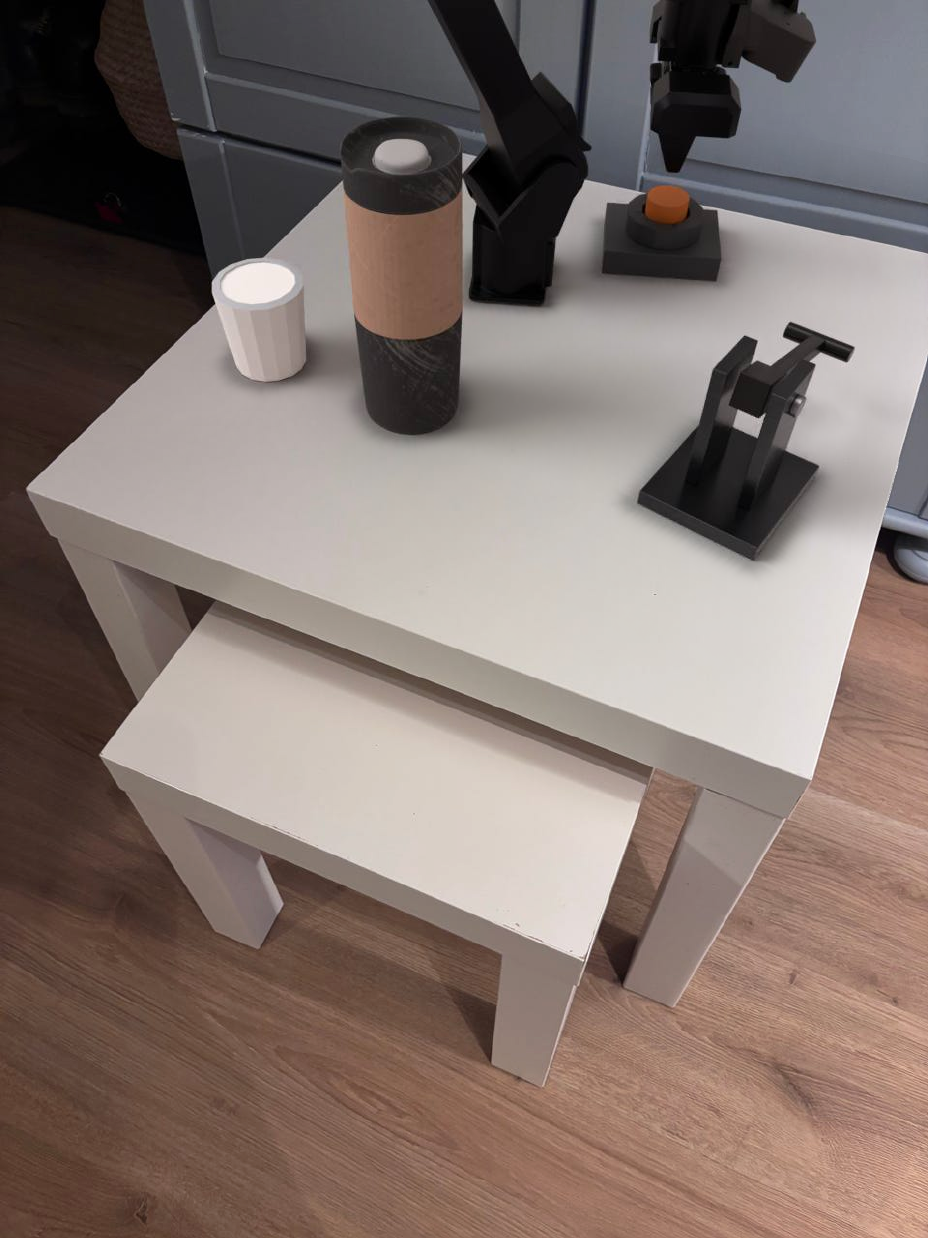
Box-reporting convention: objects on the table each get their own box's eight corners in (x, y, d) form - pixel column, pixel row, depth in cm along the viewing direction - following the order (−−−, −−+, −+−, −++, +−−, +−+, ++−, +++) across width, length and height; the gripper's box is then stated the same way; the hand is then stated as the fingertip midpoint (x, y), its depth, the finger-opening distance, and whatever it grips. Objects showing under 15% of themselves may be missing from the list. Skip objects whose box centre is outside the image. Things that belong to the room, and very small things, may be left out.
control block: (601, 273, 86) (607, 231, 83) (604, 224, 91) (609, 182, 88) (716, 281, 86) (726, 239, 83) (712, 231, 91) (721, 190, 87)
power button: (644, 224, 85) (647, 205, 83) (644, 202, 87) (647, 183, 86) (686, 227, 84) (690, 208, 83) (685, 205, 87) (689, 186, 85)
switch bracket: (703, 427, 74) (736, 302, 65) (815, 477, 71) (864, 353, 62) (636, 503, 69) (662, 378, 60) (752, 561, 66) (797, 438, 57)
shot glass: (329, 346, 80) (320, 269, 74) (285, 396, 76) (272, 318, 70) (257, 324, 81) (243, 247, 76) (210, 372, 77) (192, 294, 72)
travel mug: (475, 384, 77) (481, 126, 61) (442, 447, 72) (439, 185, 57) (384, 363, 78) (367, 106, 62) (346, 423, 74) (317, 163, 58)
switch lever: (783, 342, 73) (795, 311, 72) (846, 368, 71) (860, 337, 70) (708, 397, 63) (720, 362, 62) (779, 428, 62) (793, 393, 60)
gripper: (842, 17, 64) (779, 237, 76) (812, -82, 75) (761, 124, 88) (670, 7, 65) (635, 227, 77) (666, -89, 76) (636, 116, 88)
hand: (672, 170), depth 83 cm, fingers closed
